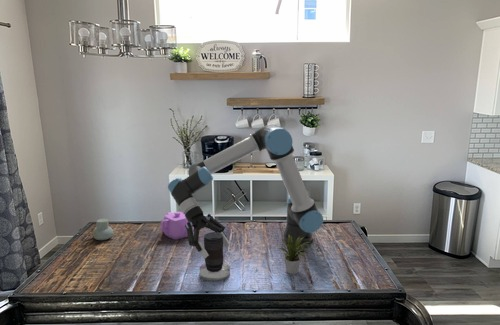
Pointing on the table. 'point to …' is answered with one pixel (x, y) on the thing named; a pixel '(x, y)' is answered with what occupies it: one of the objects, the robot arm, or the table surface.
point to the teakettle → (174, 225)
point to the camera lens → (214, 251)
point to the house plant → (293, 255)
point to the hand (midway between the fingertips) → (217, 251)
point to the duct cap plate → (215, 273)
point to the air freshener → (102, 230)
